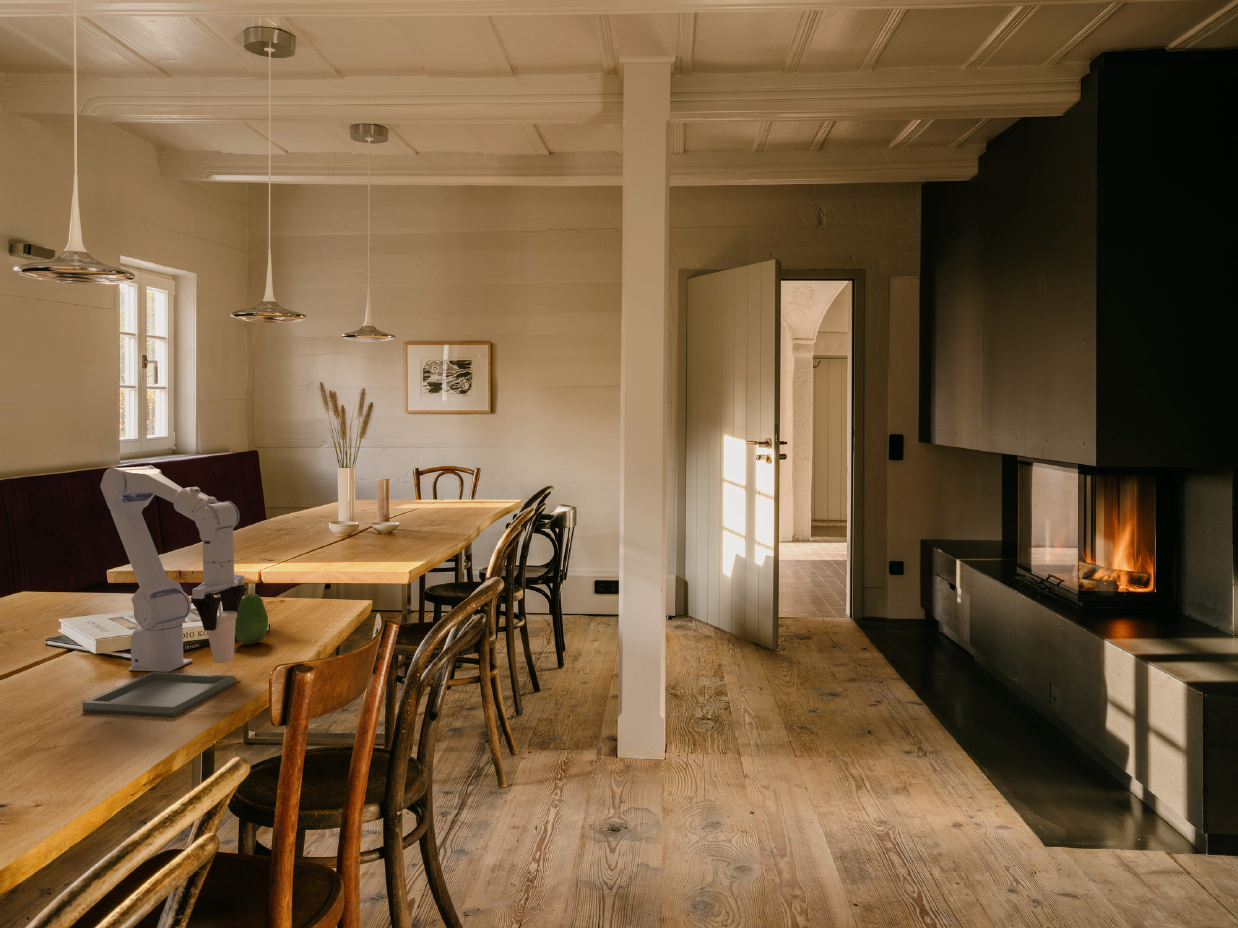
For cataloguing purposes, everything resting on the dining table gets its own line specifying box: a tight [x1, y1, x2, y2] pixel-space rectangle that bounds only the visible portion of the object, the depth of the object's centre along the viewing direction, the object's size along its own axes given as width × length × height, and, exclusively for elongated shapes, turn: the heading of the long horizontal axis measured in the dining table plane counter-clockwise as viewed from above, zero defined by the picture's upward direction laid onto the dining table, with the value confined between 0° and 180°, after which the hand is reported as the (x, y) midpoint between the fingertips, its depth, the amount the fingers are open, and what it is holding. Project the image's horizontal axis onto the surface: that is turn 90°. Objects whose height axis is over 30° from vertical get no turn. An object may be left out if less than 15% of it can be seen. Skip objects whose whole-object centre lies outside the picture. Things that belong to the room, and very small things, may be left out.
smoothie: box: [206, 593, 237, 664], centre depth 168 cm, size 6×6×14 cm
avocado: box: [235, 593, 269, 646], centre depth 192 cm, size 8×8×12 cm
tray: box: [82, 671, 235, 718], centre depth 155 cm, size 18×18×2 cm
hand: (220, 625), depth 168 cm, fingers closed on smoothie, 6 cm apart
